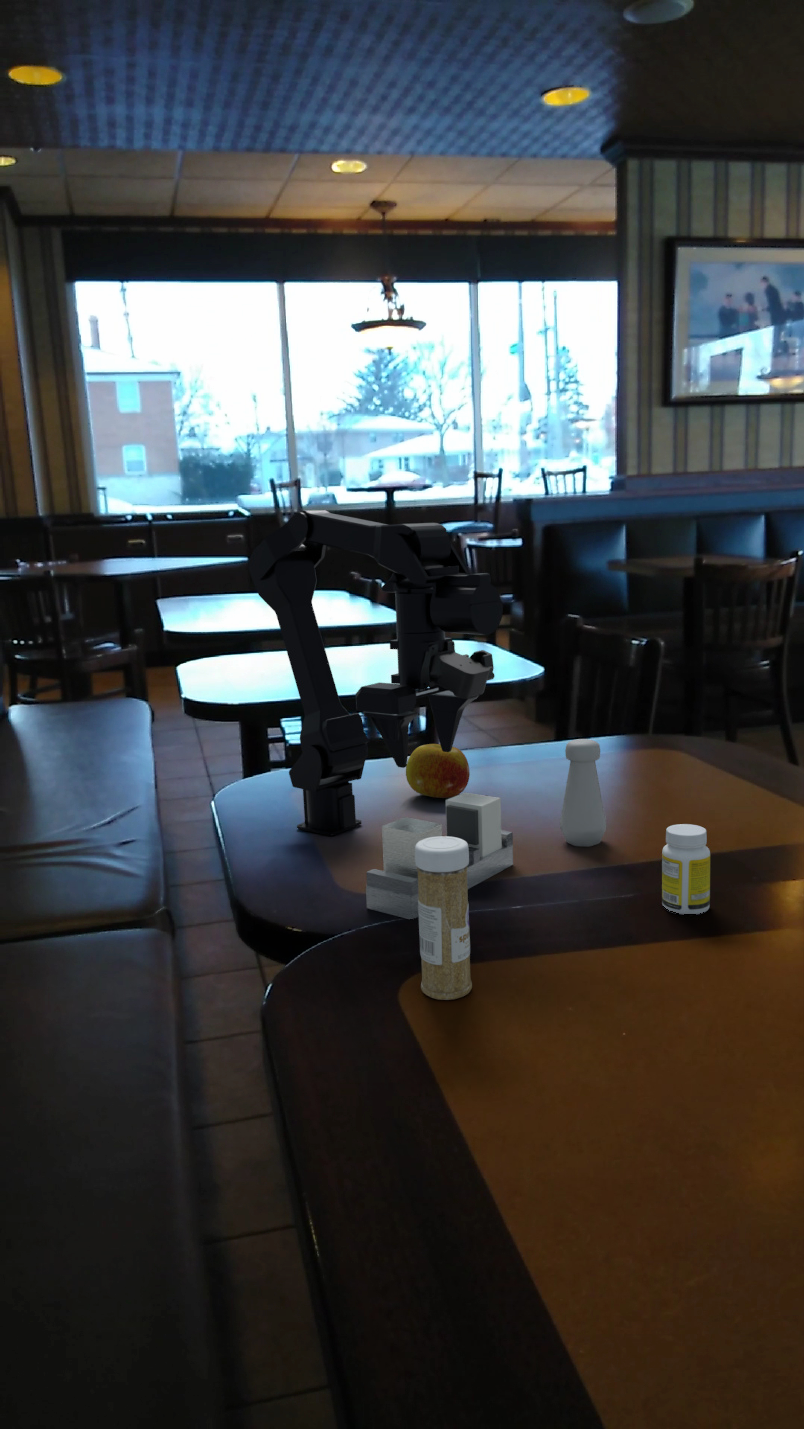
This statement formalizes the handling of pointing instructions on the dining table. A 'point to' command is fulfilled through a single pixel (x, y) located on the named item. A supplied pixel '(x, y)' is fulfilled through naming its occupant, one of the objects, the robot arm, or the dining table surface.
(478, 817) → the matte gray box
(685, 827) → the supplement bottle
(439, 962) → the spice jar
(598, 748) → the salt shaker
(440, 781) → the fruit
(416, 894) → the rail
